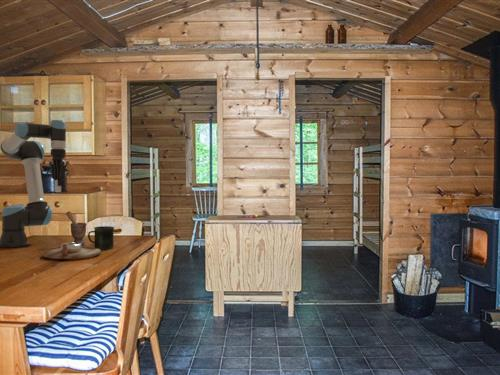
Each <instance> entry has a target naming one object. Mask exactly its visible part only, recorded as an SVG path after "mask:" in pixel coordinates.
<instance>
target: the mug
mask: <svg viewBox="0 0 500 375" xmlns="http://www.w3.org/2000/svg"><path fill="white" fill-rule="evenodd" d="M93 229H94V230H91V231H89V232H88V233H87V238H88V241H89V242H90V243H92V244H94V246H93V248H97V249H100V250H110V249H111V250H112V249H113V248H114V238H115V237H114V229H115V226H110V225H109V226H108V225H107V226H104V225H103V226H102V225H101V226H94V227H93ZM91 233H94V240H92V239H91V235H90V234H91Z"/></svg>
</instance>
